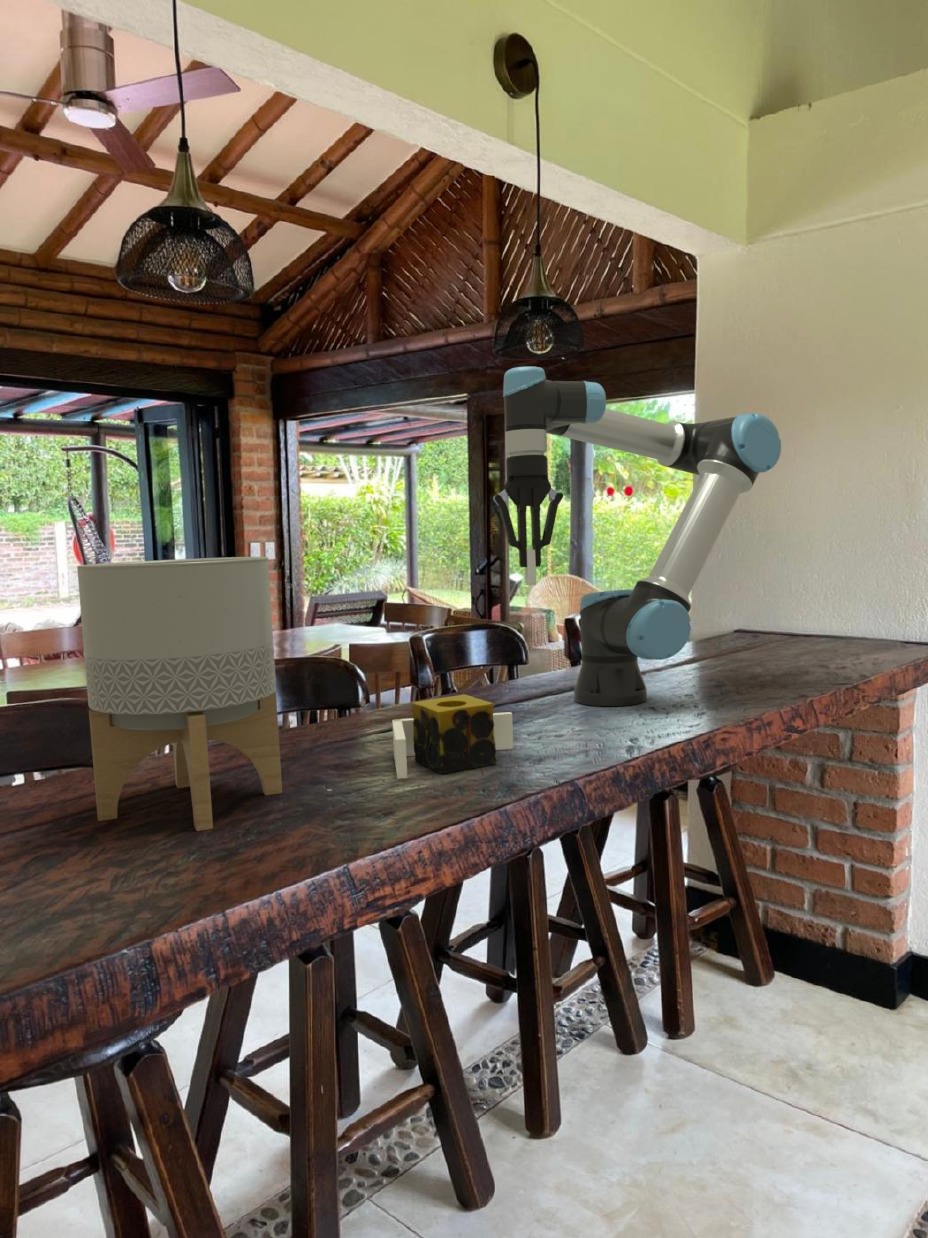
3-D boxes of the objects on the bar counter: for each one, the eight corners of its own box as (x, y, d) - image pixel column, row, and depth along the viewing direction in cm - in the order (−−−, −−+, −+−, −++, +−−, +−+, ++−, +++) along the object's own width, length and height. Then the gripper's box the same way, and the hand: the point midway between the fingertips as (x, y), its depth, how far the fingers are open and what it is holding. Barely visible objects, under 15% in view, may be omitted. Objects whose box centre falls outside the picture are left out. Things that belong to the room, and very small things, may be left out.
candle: (467, 752, 150) (465, 693, 149) (498, 765, 142) (496, 702, 141) (412, 762, 146) (409, 701, 145) (441, 775, 137) (438, 711, 136)
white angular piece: (511, 746, 153) (510, 712, 152) (528, 769, 138) (526, 731, 137) (393, 754, 150) (392, 719, 150) (397, 778, 136) (395, 739, 135)
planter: (100, 847, 110) (77, 567, 107) (95, 796, 133) (76, 564, 130) (300, 814, 120) (285, 557, 117) (264, 772, 143) (250, 555, 139)
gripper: (557, 456, 168) (561, 582, 170) (488, 458, 166) (492, 585, 169) (566, 452, 160) (570, 584, 163) (494, 454, 159) (499, 587, 161)
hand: (530, 584), depth 166 cm, fingers closed
